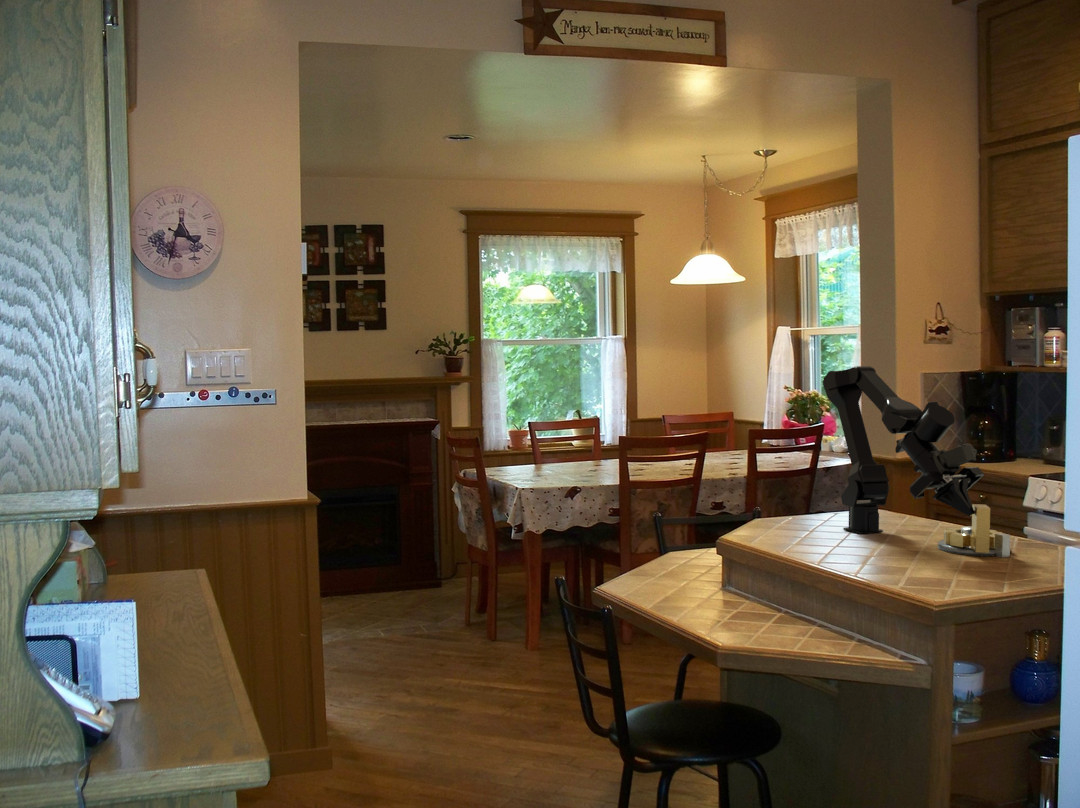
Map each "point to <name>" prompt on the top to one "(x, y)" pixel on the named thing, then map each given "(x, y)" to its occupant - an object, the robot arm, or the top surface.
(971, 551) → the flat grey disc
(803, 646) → the top surface
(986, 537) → the beige block cluster
